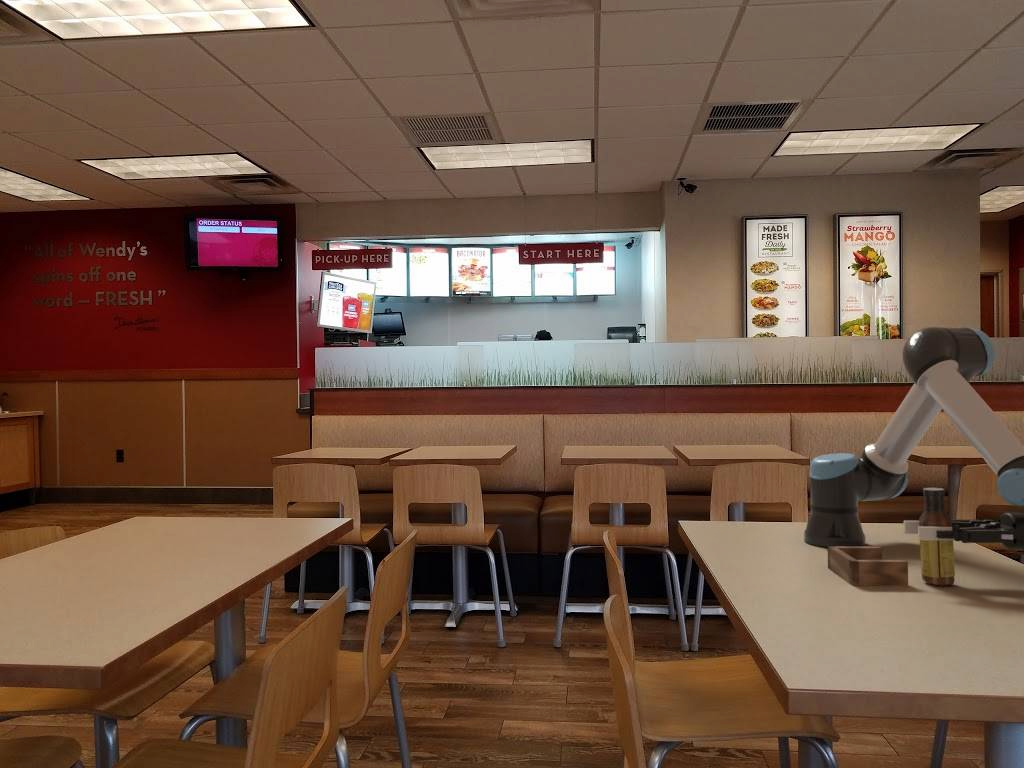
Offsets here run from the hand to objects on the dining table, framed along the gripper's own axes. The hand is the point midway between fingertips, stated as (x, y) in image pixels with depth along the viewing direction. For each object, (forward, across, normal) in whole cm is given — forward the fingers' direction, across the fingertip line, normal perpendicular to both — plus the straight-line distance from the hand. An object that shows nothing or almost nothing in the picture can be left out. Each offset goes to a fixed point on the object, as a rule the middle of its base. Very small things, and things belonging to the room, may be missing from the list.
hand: (911, 530), depth 161 cm
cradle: (+6, +6, -11) cm, 14 cm away
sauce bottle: (-5, 0, -11) cm, 12 cm away
